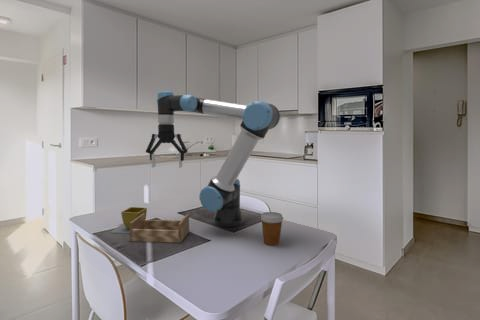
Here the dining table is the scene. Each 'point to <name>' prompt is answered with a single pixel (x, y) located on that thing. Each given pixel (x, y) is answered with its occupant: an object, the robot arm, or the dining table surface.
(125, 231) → the mat
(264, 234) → the disposable coffee cup
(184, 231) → the crate
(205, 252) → the dining table surface
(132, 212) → the flower pot
